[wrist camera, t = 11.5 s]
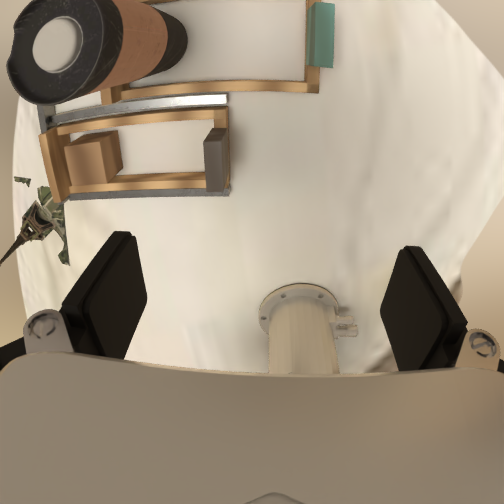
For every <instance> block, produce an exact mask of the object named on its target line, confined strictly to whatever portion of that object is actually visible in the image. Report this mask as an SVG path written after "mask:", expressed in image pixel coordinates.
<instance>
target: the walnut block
mask: <svg viewBox="0 0 504 504" xmlns="http://www.w3.org/2000/svg"><path fill="white" fill-rule="evenodd" d="M64 150H65V155H66V160H67V165H68V170H69V174H70V179H71V183H72V186H79V185H93V184H107V183H108V182H109V181H110V180H111V179H112V178H113V177H114V176H115V175H116V174H117V173H118V172H119V171H120V170H121V169H122V168H123V164H122V158H121V151H120V144H119V137H118V130H115V131H107V132H100V133H92V134H86V135H83V136H81V137H79V138H78V139H76V140H74V141H73V142H71V143H69V144H68V145H66V146H64Z"/></svg>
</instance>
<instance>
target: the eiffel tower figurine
mask: <svg viewBox="0 0 504 504" xmlns="http://www.w3.org/2000/svg"><path fill="white" fill-rule="evenodd" d="M14 178H15V181H16V182H22V183H23V184H24V183H25V182H26V184H27V186H28V187H29V184H30V181H31V179H28V178H20V177H14ZM37 189H38V198H39V200H40V203H41V206H42V207H41V206H40V205H39V203H38V202H37V201H35V202H34V203H33V204H32V205H31V207H30V208H29V209H28V211H27V212H26V213H25V214H24V216H23V217H22V219H23V221H22V227H21V232H20V234H19V235H18V236H17V240H16V241H15V243H14V244H13V245H12V246H11V248H10V249H9V250H8V252H7V253H6V254H5V255H4V257H3V258H2V259H1V260H0V266H1V264H2V262H4V260H5V259H6V258H7V257H8V256H9V255H10V254H11V253H13V252H14V251H15V250H16V249H17V248H18V247H19V246H20V245H23V244H24V243H25V242H27V241H29V240H30V241H32V240H41V241H42V240H43V239H44V238H45V237H46V236H47V235H48V234H49V233H50V232H51V231H52V230H53V229H54V230H55V231H56V232H57V233H58V234H59V236H60V237H61V238H62V240H63V241H64V248H63V250H62V251H61V252H60V253H59V255H58V257H59V259H60V261H61V262H62V264H66V265H69V266H70V264H69V258H68V248H67V240H66V232H65V221H64V204H60V205H58V203H54V201H53V197H52V193H51V190H50V188H49V187H43V186H41V187H40V188H37ZM28 227H30V228H31V229H32V230H33V232H31V231H30V230H29V228H28Z"/></svg>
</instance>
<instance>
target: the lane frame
mask: <svg viewBox="0 0 504 504" xmlns="http://www.w3.org/2000/svg"><path fill="white" fill-rule="evenodd" d="M227 102H228V93H213V94H193V95H179V96H167V97H157V98H147V99H139V100H131V101H124V102H117V103H113V104H109V105H103V106H102V105H98V106H93V107H87V108H82V109H77V110H72V111H67V112H63V113H58V114H55V107H54V105H51V106H40V105H37V109H38V116H39V122H40V128H41V134H42V133H44V132H46V131H48V130H50V129H52V128H54V127H56V126H57V123H59V122H63V121H68V120H73V119H79V118H84V117H90V116H96V115H102V114H109V113H116V112H123V111H131V110H139V109H148V108H158V107H170V106H183V105H201V104H226V103H227ZM229 194H230V184H229V185H228V188H224V191H223V192H206V188H180V189H144V190H120V191H101V192H85V193H71V194H69V195H68V196H67V197H66V198H65V199H64V200H63V201H62V202H59V203H58V205H60V204H64V203H65V202H66V201H67V200H68V199H69V200H70V201H73V200H91V199H112V198H138V197H184V196H229Z"/></svg>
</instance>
